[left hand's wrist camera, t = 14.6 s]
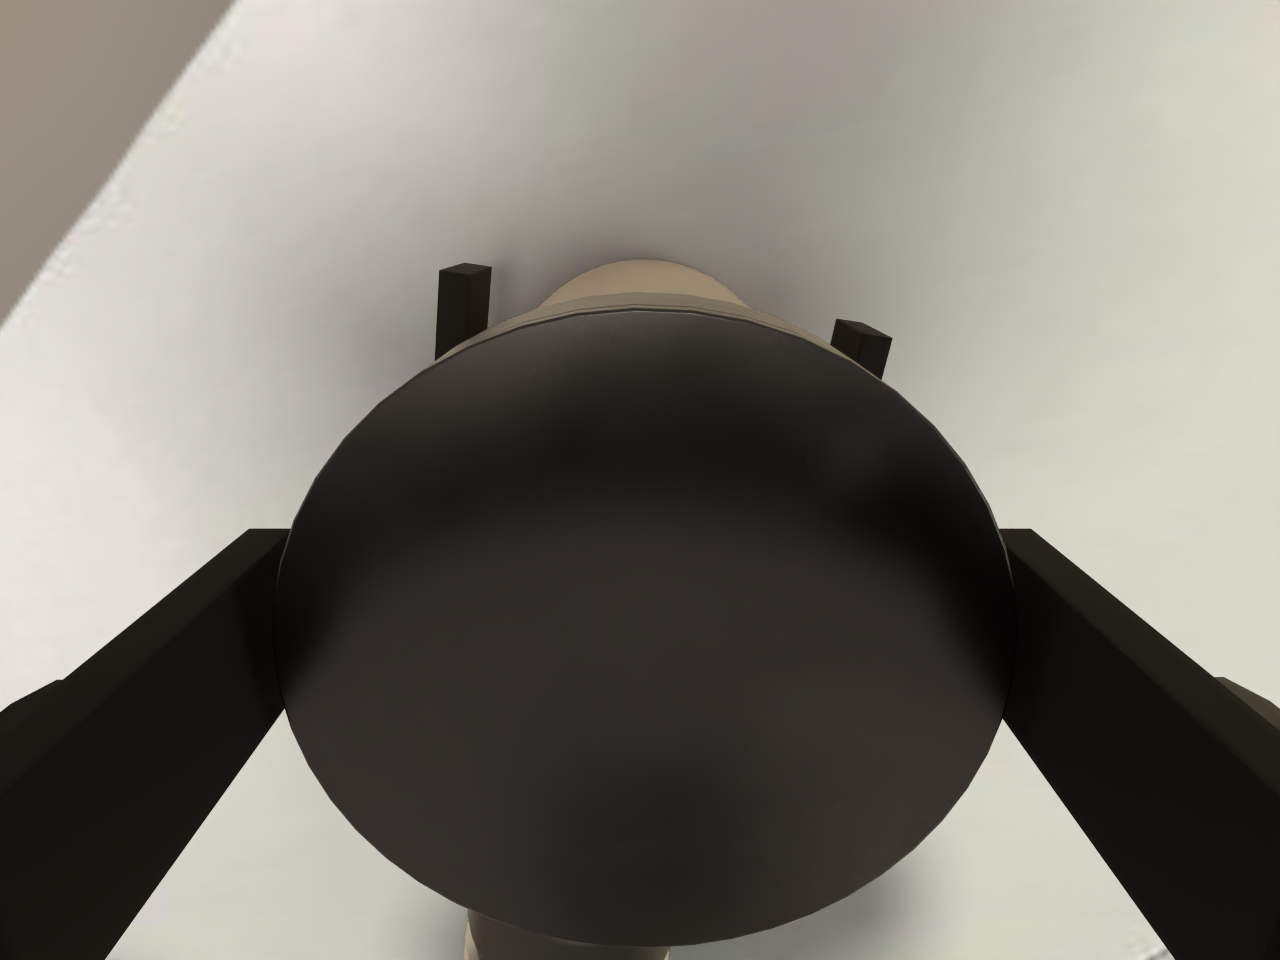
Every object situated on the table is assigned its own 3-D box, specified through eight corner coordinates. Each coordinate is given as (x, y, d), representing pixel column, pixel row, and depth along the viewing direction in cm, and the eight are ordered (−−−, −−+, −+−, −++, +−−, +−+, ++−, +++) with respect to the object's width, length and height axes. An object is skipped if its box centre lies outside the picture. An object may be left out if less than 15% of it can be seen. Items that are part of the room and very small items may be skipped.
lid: (421, 173, 10) (374, 166, 8) (1090, 443, 11) (1174, 486, 10) (268, 760, 14) (210, 844, 12) (795, 915, 15) (816, 1013, 13)
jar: (559, 214, 25) (414, 221, 9) (823, 321, 26) (1105, 493, 10) (475, 471, 28) (258, 810, 12) (714, 555, 29) (798, 964, 13)
